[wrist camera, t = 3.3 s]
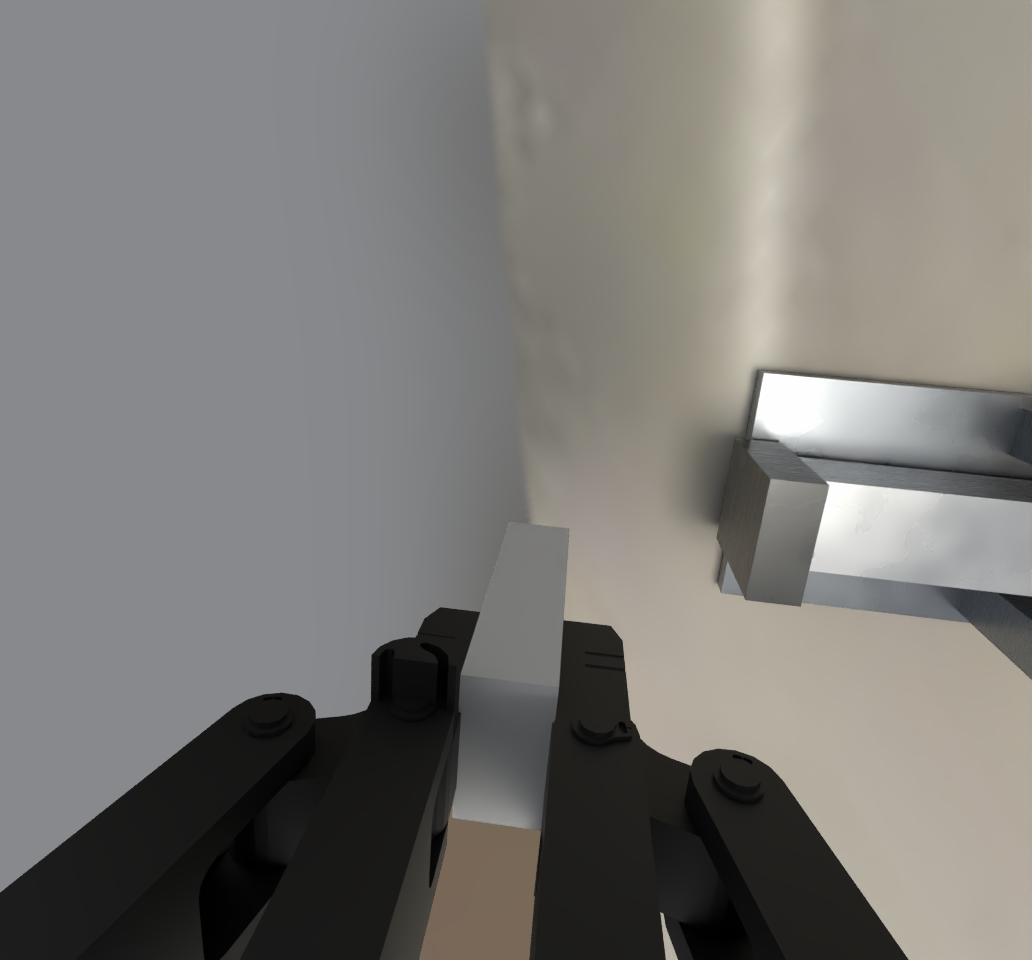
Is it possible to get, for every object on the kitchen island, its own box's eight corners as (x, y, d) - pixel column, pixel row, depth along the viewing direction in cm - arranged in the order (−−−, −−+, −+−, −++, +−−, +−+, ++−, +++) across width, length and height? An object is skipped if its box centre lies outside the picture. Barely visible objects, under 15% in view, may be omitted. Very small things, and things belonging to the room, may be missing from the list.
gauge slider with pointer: (778, 202, 20) (838, 180, 15) (1306, 239, 19) (1555, 227, 14) (716, 538, 24) (748, 606, 19) (1157, 587, 23) (1314, 675, 18)
